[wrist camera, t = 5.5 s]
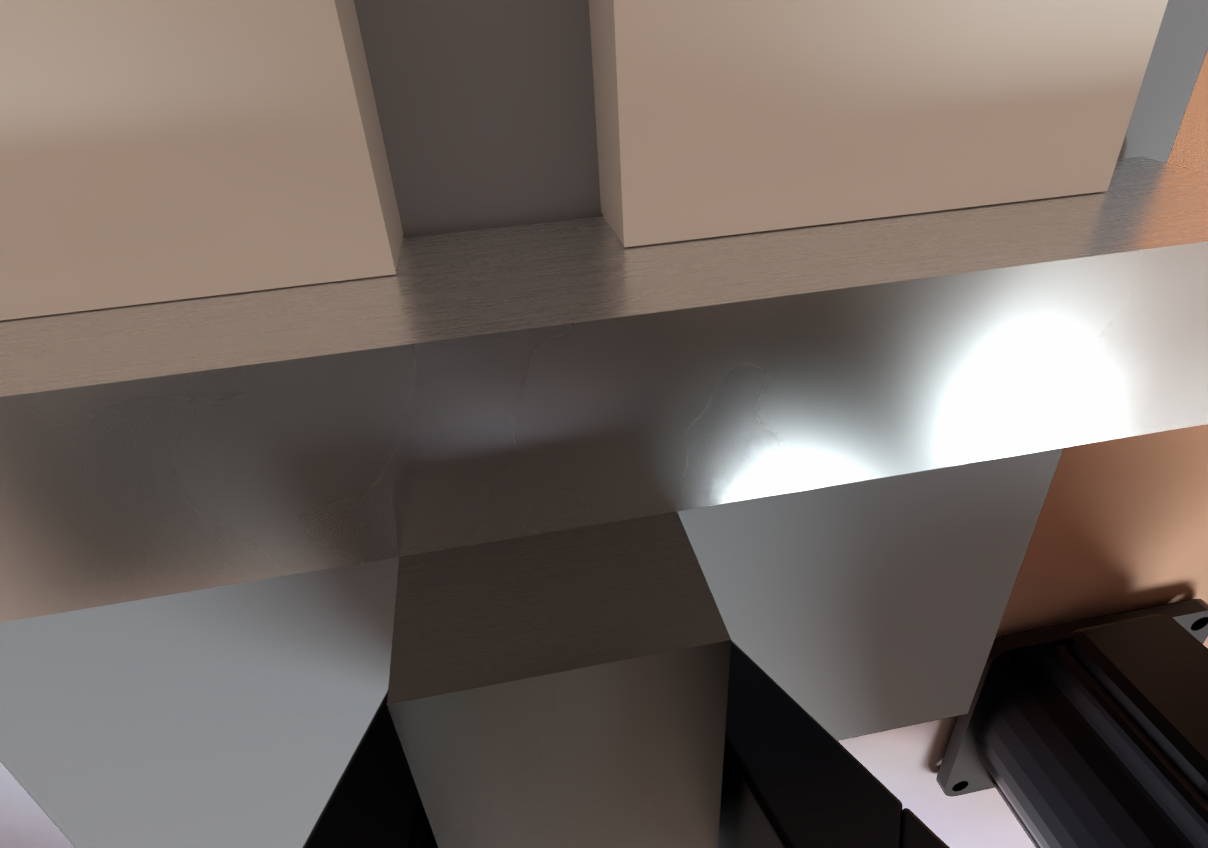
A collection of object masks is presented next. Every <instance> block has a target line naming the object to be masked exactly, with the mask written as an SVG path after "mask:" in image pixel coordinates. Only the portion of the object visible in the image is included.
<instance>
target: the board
mask: <svg viewBox="0 0 1208 848" xmlns="http://www.w3.org/2000/svg"><path fill="white" fill-rule="evenodd" d="M354 4H355V8H356V13H357V18H358V23H359V27H360V32H361V37H362V41H363V46H364V51H365V56H366V60H367V65H368V70H369V74H370V79H371V84H372V88H373V93H374V98H375V103H376V107H377V112H378V117H379V121H380V126H381V131H382V136H383V140H384V145H385V150H386V154H387V159H388V164H389V168H390V173H391V178H392V183H393V187H394V192H395V197H396V201H397V206H398V211H399V216H400V220H401V225H402V230H403V238H409V237H418V236H427V235H437V234H446V233H455V232H464V231H473V230H482V229H491V228H500V227H509V226H518V225H527V224H536V223H545V222H554V221H563V220H572V219H581V218H590V217H599V216H603V214H602V213H601V201H600V184H599V167H598V150H597V133H596V116H595V99H594V82H593V65H592V48H591V31H590V14H589V0H354ZM1207 50H1208V0H1168V3H1167V6H1166V9H1165V12H1164V15H1163V19H1162V22H1161V25H1160V28H1159V31H1158V34H1157V37H1156V40H1155V44H1154V47H1153V50H1152V53H1151V56H1150V59H1149V62H1148V66H1147V69H1146V72H1145V75H1144V78H1143V81H1142V84H1141V87H1140V91H1139V94H1138V97H1137V100H1136V103H1135V106H1134V109H1133V112H1132V116H1131V119H1130V122H1129V125H1128V128H1127V131H1126V134H1125V138H1124V141H1123V144H1122V147H1121V150H1120V153H1119V156H1118V159H1123V158H1132V157H1141V156H1143V157H1147V158H1151V159H1154V160H1158V161H1162V162H1165V163H1167V161H1168V158H1169V155H1170V152H1171V150H1172V147H1173V144H1174V141H1175V138H1176V136H1177V133H1178V130H1179V127H1180V125H1181V122H1182V119H1183V116H1184V114H1185V111H1186V108H1187V105H1188V102H1189V100H1190V97H1191V94H1192V91H1193V89H1194V86H1195V83H1196V80H1197V78H1198V75H1199V72H1200V69H1201V66H1202V64H1203V61H1204V58H1205V55H1206V53H1207ZM1062 451H1063V448H1059V449H1052V450H1046V451H1040V452H1034V453H1028V454H1022V455H1016V456H1010V457H1004V458H998V459H992V460H986V461H980V462H974V463H967V464H961V465H955V466H949V467H943V468H937V469H931V470H925V471H919V472H913V473H907V474H901V475H895V476H889V477H882V478H876V479H870V480H864V481H858V482H852V483H846V484H840V485H834V486H828V487H822V488H816V489H810V490H804V491H797V492H791V493H785V494H779V495H773V496H767V497H761V498H755V499H749V500H743V501H737V502H731V503H725V504H719V505H712V506H706V507H700V508H694V509H688V510H682V511H677V512H678V514H679V517H680V519H681V522H682V524H683V526H684V529H685V531H686V533H687V536H688V538H689V541H690V543H691V545H692V548H693V550H694V552H695V555H696V557H697V560H698V562H699V564H700V567H701V569H702V571H703V574H704V576H705V579H706V581H707V583H708V586H709V588H710V590H711V593H712V595H713V598H714V600H715V602H716V605H717V607H718V609H719V612H720V614H721V617H722V619H723V621H724V624H725V626H726V628H727V631H728V633H729V636H730V638H731V640H732V641H733V642H734V643H735V644H736V645H737V646H738V647H739V648H740V649H741V650H742V651H743V652H744V653H745V654H747V655H748V656H749V657H750V658H751V659H752V660H753V661H754V662H755V663H756V664H757V665H758V666H759V667H760V668H761V669H762V670H763V671H764V672H765V673H766V674H767V675H769V676H770V677H771V678H772V679H773V680H774V681H775V682H776V683H777V684H778V685H779V686H780V687H781V688H782V689H783V690H784V691H785V692H786V693H787V694H788V695H789V696H791V697H792V698H793V699H794V700H795V701H796V702H797V703H798V704H799V705H800V706H801V707H802V708H803V709H804V710H805V711H806V712H807V713H808V714H809V715H810V716H812V717H813V718H814V719H815V720H816V721H817V722H818V723H819V724H820V725H821V726H822V727H823V728H824V729H825V730H826V731H827V732H828V733H829V734H830V735H831V736H832V737H834V738H835V739H836V740H837V741H839V740H843V739H848V738H853V737H858V736H863V735H867V734H872V733H877V732H882V731H887V730H891V729H896V728H901V727H906V726H911V725H915V724H920V723H925V722H930V721H935V720H939V719H944V718H949V717H954V716H959V715H964V714H968V711H969V708H970V706H971V703H972V700H973V697H974V695H975V692H976V689H977V686H978V684H979V681H980V678H981V675H982V672H983V670H984V667H985V664H986V661H987V659H988V656H989V653H990V650H991V648H992V645H993V642H994V639H995V637H996V634H997V631H998V628H999V625H1000V623H1001V620H1002V617H1003V614H1004V612H1005V609H1006V606H1007V603H1008V601H1009V598H1010V595H1011V592H1012V589H1013V587H1014V584H1015V581H1016V578H1017V576H1018V573H1019V570H1020V567H1021V565H1022V562H1023V559H1024V556H1025V553H1026V551H1027V548H1028V545H1029V542H1030V540H1031V537H1032V534H1033V531H1034V529H1035V526H1036V523H1037V520H1038V518H1039V515H1040V512H1041V509H1042V506H1043V504H1044V501H1045V498H1046V495H1047V493H1048V490H1049V487H1050V484H1051V482H1052V479H1053V476H1054V473H1055V470H1056V468H1057V465H1058V462H1059V459H1060V457H1061V454H1062ZM398 566H399V557H397V558H391V559H385V560H379V561H372V562H366V563H360V564H354V565H348V566H342V567H336V568H330V569H324V570H318V571H312V572H306V573H300V574H294V575H287V576H281V577H275V578H269V579H263V580H257V581H251V582H245V583H239V584H233V585H227V586H221V587H215V588H209V589H202V590H196V591H190V592H184V593H178V594H172V595H166V596H160V597H154V598H148V599H142V600H136V601H130V602H124V603H117V604H111V605H105V606H99V607H93V608H87V609H81V610H75V611H69V612H63V613H57V614H51V615H45V616H39V617H33V618H26V619H20V620H14V621H8V622H2V623H0V762H1V763H2V764H3V765H4V766H5V767H6V768H7V770H8V771H9V772H10V773H11V774H12V775H13V776H14V778H15V779H16V780H17V781H18V782H19V783H20V785H21V786H22V787H23V788H24V789H25V790H26V791H27V793H28V794H29V795H30V796H31V797H32V798H33V799H34V801H35V802H36V803H37V804H38V805H39V806H40V808H41V809H42V810H43V811H44V812H45V813H46V814H47V816H48V817H49V818H50V819H51V820H52V821H53V822H54V824H55V825H56V826H57V827H58V828H59V829H60V831H61V832H62V833H63V834H64V835H65V836H66V837H67V839H68V840H69V841H70V842H71V843H72V844H73V845H74V847H75V848H302V847H303V846H304V844H305V842H306V840H307V838H308V836H309V835H310V833H311V831H312V829H313V827H314V825H315V823H316V822H317V820H318V818H319V816H320V814H321V812H322V811H323V809H324V807H325V805H326V803H327V801H328V800H329V798H330V796H331V794H332V792H333V790H334V788H335V787H336V785H337V783H338V781H339V779H340V777H341V776H342V774H343V772H344V770H345V768H346V766H347V765H348V763H349V761H350V759H351V757H352V755H353V753H354V752H355V750H356V748H357V746H358V744H359V742H360V741H361V739H362V737H363V735H364V733H365V731H366V730H367V728H368V726H369V724H370V722H371V720H372V718H373V717H374V715H375V713H376V711H377V709H378V707H379V706H380V704H381V702H382V700H383V698H384V696H385V694H386V693H387V691H388V686H389V674H390V662H391V650H392V638H393V626H394V614H395V602H396V590H397V578H398Z"/></svg>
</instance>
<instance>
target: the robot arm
mask: <svg viewBox="0 0 1208 848" xmlns="http://www.w3.org/2000/svg"><path fill="white" fill-rule="evenodd" d="M1207 636H1208V604H1207V603H1206V602H1205V601H1203V600H1201V599H1193V600H1187V601H1182V602H1177V603H1172V604H1167V605H1162V606H1157V607H1151V608H1146V609H1141V610H1136V611H1131V612H1126V613H1121V614H1115V615H1110V616H1105V617H1100V618H1095V619H1090V620H1085V621H1079V622H1074V623H1069V624H1064V625H1059V626H1054V627H1049V628H1043V629H1038V630H1033V631H1028V632H1023V633H1018V634H1013V635H1007V636H1003V637H999V638H996V639H994V642H993V645H992V648H991V650H990V653H989V656H988V659H987V661H986V664H985V667H984V670H983V672H982V675H981V678H980V681H979V684H978V686H977V689H976V692H975V695H974V697H973V700H972V703H971V706H970V708H969V711H968V714H964V715H959V716H958V718H957V720H956V723H955V726H954V729H953V732H952V735H951V738H950V740H949V743H948V746H947V749H946V752H945V755H944V757H943V760H942V763H941V766H940V769H939V772H938V775H937V782H938V784H939V785H940V787H941V788H942V790H943V792H944V793H945V794H946V795H947V796H958V795H962V794H967V793H971V792H976V791H980V790H985V789H989V788H994V787H995V788H996V789H997V791H998V792H999V794H1000V795H1001V796H1002V798H1003V799H1004V801H1005V802H1006V804H1007V805H1008V807H1009V808H1010V810H1011V811H1012V813H1013V814H1014V816H1015V817H1016V819H1017V820H1018V822H1019V823H1020V825H1021V826H1022V828H1023V829H1024V831H1025V832H1026V834H1027V835H1028V837H1029V838H1030V839H1031V841H1032V842H1033V844H1034V845H1035V847H1036V848H1208V649H1207V648H1206V647H1205V646H1204V645H1203V643H1204V641H1205V640H1206V638H1207ZM387 698H388V691H387V693H386V694H385V696H384V698H383V700H382V702H381V704H380V706H379V707H378V709H377V711H376V713H375V715H374V717H373V718H372V720H371V722H370V724H369V726H368V728H367V730H366V731H365V733H364V735H363V737H362V739H361V741H360V742H359V744H358V746H357V748H356V750H355V752H354V753H353V755H352V757H351V759H350V761H349V763H348V765H347V766H346V768H345V770H344V772H343V774H342V776H341V777H340V779H339V781H338V783H337V785H336V787H335V788H334V790H333V792H332V794H331V796H330V798H329V800H328V801H327V803H326V805H325V807H324V809H323V811H322V812H321V814H320V816H319V818H318V820H317V822H316V823H315V825H314V827H313V829H312V831H311V833H310V835H309V836H308V838H307V840H306V842H305V844H304V846H303V847H302V848H438V845H437V842H436V840H435V837H434V834H433V831H432V829H431V826H430V823H429V820H428V817H427V815H426V812H425V809H424V806H423V804H422V801H421V798H420V795H419V793H418V790H417V787H416V784H415V781H414V779H413V776H412V773H411V770H410V768H409V765H408V762H407V759H406V756H405V754H404V751H403V748H402V745H401V743H400V740H399V737H398V734H397V731H396V729H395V726H394V723H393V720H392V718H391V715H390V712H389V709H388V706H387ZM718 848H950V847H948V846H947V845H946V844H945V843H944V842H943V841H942V840H941V839H940V838H939V837H937V836H936V835H935V834H934V833H933V832H932V831H931V830H930V829H929V828H928V827H927V826H926V825H925V824H924V823H923V822H922V821H921V820H920V819H919V818H918V817H917V816H916V815H915V814H914V813H913V812H912V811H910V810H909V809H907V808H905V809H903V810H902V803H901V801H900V800H899V799H897V798H896V797H895V796H894V795H893V794H892V793H891V792H890V791H889V790H888V789H887V788H886V787H885V786H884V785H883V784H882V783H881V782H880V781H879V780H878V779H877V778H875V777H874V776H873V775H872V774H871V773H870V772H869V771H868V770H867V769H866V768H865V767H864V766H863V765H862V764H861V763H860V762H859V761H858V760H857V759H856V758H854V757H853V756H852V755H851V754H850V753H849V752H848V751H847V750H846V749H845V748H844V747H843V746H842V745H841V744H840V743H839V742H838V741H837V740H836V739H835V738H834V737H832V736H831V735H830V734H829V733H828V732H827V731H826V730H825V729H824V728H823V727H822V726H821V725H820V724H819V723H818V722H817V721H816V720H815V719H814V718H813V717H812V716H810V715H809V714H808V713H807V712H806V711H805V710H804V709H803V708H802V707H801V706H800V705H799V704H798V703H797V702H796V701H795V700H794V699H793V698H792V697H791V696H789V695H788V694H787V693H786V692H785V691H784V690H783V689H782V688H781V687H780V686H779V685H778V684H777V683H776V682H775V681H774V680H773V679H772V678H771V677H770V676H769V675H767V674H766V673H765V672H764V671H763V670H762V669H761V668H760V667H759V666H758V665H757V664H756V663H755V662H754V661H753V660H752V659H751V658H750V657H749V656H748V655H747V654H745V653H744V652H743V651H742V650H741V649H740V648H739V647H738V646H737V645H736V644H735V643H734V642H733V641H732V640H731V651H730V666H729V682H728V697H727V712H726V727H725V743H724V758H723V773H722V788H721V804H720V819H719V834H718Z"/></svg>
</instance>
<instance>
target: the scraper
mask: <svg viewBox="0 0 1208 848" xmlns="http://www.w3.org/2000/svg"><path fill="white" fill-rule="evenodd" d="M1204 424H1208V174H1206V173H1202V172H1199V171H1195V170H1191V169H1188V168H1184V167H1180V166H1177V165H1173V164H1169V163H1165V162H1162V161H1158V160H1154V159H1151V158H1147V157H1143V156H1141V157H1132V158H1123V159H1117V163H1116V166H1115V169H1114V172H1113V175H1112V178H1111V181H1110V184H1109V188H1108V191H1104V192H1095V193H1086V194H1078V195H1069V196H1061V197H1052V198H1044V199H1035V200H1027V201H1018V202H1009V203H1001V204H992V205H984V206H975V207H967V208H958V209H949V210H941V211H932V212H924V213H915V214H907V215H898V216H890V217H881V218H872V219H864V220H855V221H847V222H838V223H830V224H821V225H812V226H804V227H795V228H787V229H778V230H770V231H761V232H753V233H744V234H735V235H727V236H718V237H710V238H701V239H693V240H684V241H675V242H667V243H658V244H650V245H641V246H633V247H623V245H622V243H621V242H620V240H619V239H618V237H617V236H616V234H615V233H614V231H613V230H612V228H611V227H610V225H609V223H608V222H607V220H606V219H605V217H604V216H599V217H590V218H581V219H572V220H563V221H554V222H545V223H536V224H527V225H518V226H509V227H500V228H491V229H482V230H473V231H464V232H455V233H446V234H437V235H427V236H418V237H409V238H403V239H402V245H401V250H400V256H399V261H398V266H397V272H396V274H395V275H386V276H378V277H369V278H360V279H352V280H343V281H335V282H326V283H318V284H309V285H301V286H292V287H284V288H275V289H266V290H258V291H249V292H241V293H232V294H224V295H215V296H207V297H198V298H190V299H181V300H172V301H164V302H155V303H147V304H138V305H130V306H121V307H113V308H104V309H96V310H87V311H78V312H70V313H61V314H53V315H44V316H36V317H27V318H19V319H10V320H2V321H0V623H2V622H8V621H14V620H20V619H26V618H33V617H39V616H45V615H51V614H57V613H63V612H69V611H75V610H81V609H87V608H93V607H99V606H105V605H111V604H117V603H124V602H130V601H136V600H142V599H148V598H154V597H160V596H166V595H172V594H178V593H184V592H190V591H196V590H202V589H209V588H215V587H221V586H227V585H233V584H239V583H245V582H251V581H257V580H263V579H269V578H275V577H281V576H287V575H294V574H300V573H306V572H312V571H318V570H324V569H330V568H336V567H342V566H348V565H354V564H360V563H366V562H372V561H379V560H385V559H391V558H397V557H399V566H398V578H397V590H396V602H395V614H394V626H393V638H392V650H391V662H390V674H389V686H388V698H387V706H388V709H389V712H390V715H391V718H392V720H393V723H394V726H395V729H396V731H397V734H398V737H399V740H400V743H401V745H402V748H403V751H404V754H405V756H406V759H407V762H408V765H409V768H410V770H411V773H412V776H413V779H414V781H415V784H416V787H417V790H418V793H419V795H420V798H421V801H422V804H423V806H424V809H425V812H426V815H427V817H428V820H429V823H430V826H431V829H432V831H433V834H434V837H435V840H436V842H437V845H438V848H718V834H719V819H720V804H721V788H722V773H723V758H724V743H725V727H726V712H727V697H728V682H729V666H730V651H731V638H730V636H729V633H728V631H727V628H726V626H725V624H724V621H723V619H722V617H721V614H720V612H719V609H718V607H717V605H716V602H715V600H714V598H713V595H712V593H711V590H710V588H709V586H708V583H707V581H706V579H705V576H704V574H703V571H702V569H701V567H700V564H699V562H698V560H697V557H696V555H695V552H694V550H693V548H692V545H691V543H690V541H689V538H688V536H687V533H686V531H685V529H684V526H683V524H682V522H681V519H680V517H679V514H678V512H677V511H682V510H688V509H694V508H700V507H706V506H712V505H719V504H725V503H731V502H737V501H743V500H749V499H755V498H761V497H767V496H773V495H779V494H785V493H791V492H797V491H804V490H810V489H816V488H822V487H828V486H834V485H840V484H846V483H852V482H858V481H864V480H870V479H876V478H882V477H889V476H895V475H901V474H907V473H913V472H919V471H925V470H931V469H937V468H943V467H949V466H955V465H961V464H967V463H974V462H980V461H986V460H992V459H998V458H1004V457H1010V456H1016V455H1022V454H1028V453H1034V452H1040V451H1046V450H1052V449H1059V448H1065V447H1071V446H1077V445H1083V444H1089V443H1095V442H1101V441H1107V440H1113V439H1119V438H1125V437H1131V436H1137V435H1144V434H1150V433H1156V432H1162V431H1168V430H1174V429H1180V428H1186V427H1192V426H1198V425H1204Z"/></svg>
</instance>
